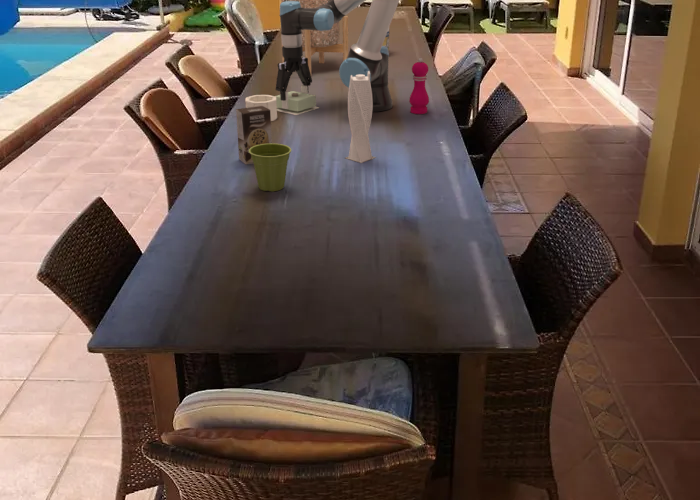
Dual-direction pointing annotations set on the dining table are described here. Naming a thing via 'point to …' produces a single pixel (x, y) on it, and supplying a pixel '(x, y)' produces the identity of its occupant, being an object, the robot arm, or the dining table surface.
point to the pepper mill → (419, 88)
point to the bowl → (263, 103)
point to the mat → (295, 111)
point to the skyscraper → (360, 117)
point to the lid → (298, 101)
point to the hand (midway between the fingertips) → (295, 105)
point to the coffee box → (252, 130)
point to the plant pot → (270, 165)
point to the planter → (322, 36)
